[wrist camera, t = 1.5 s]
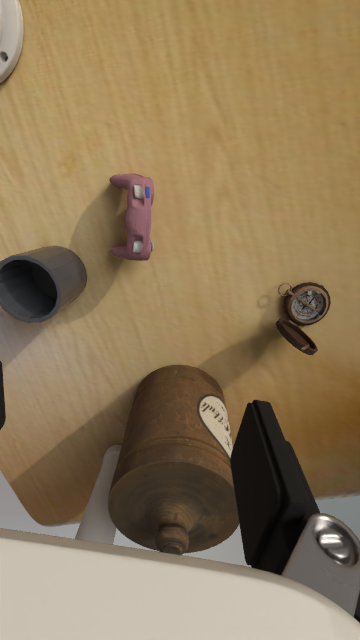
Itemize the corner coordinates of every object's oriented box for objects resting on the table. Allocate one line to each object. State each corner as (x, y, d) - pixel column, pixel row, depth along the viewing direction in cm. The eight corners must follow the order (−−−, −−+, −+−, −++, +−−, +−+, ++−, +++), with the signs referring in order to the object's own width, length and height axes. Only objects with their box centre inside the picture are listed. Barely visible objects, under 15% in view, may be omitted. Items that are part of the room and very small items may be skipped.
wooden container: (226, 436, 49) (250, 597, 29) (141, 439, 50) (107, 597, 30) (223, 361, 44) (250, 494, 24) (128, 366, 45) (76, 498, 25)
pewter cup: (21, 275, 40) (-21, 291, 32) (51, 233, 38) (15, 239, 30) (66, 311, 42) (37, 335, 34) (98, 273, 40) (74, 289, 32)
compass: (337, 296, 40) (367, 314, 33) (298, 339, 42) (319, 364, 35) (293, 264, 38) (314, 277, 32) (256, 311, 41) (268, 331, 34)
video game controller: (141, 255, 40) (158, 265, 34) (108, 255, 38) (121, 266, 32) (143, 177, 37) (163, 174, 31) (107, 173, 35) (121, 168, 29)
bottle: (109, 466, 53) (44, 667, 30) (102, 444, 51) (27, 641, 28) (136, 463, 53) (92, 666, 29) (130, 442, 51) (78, 640, 28)
